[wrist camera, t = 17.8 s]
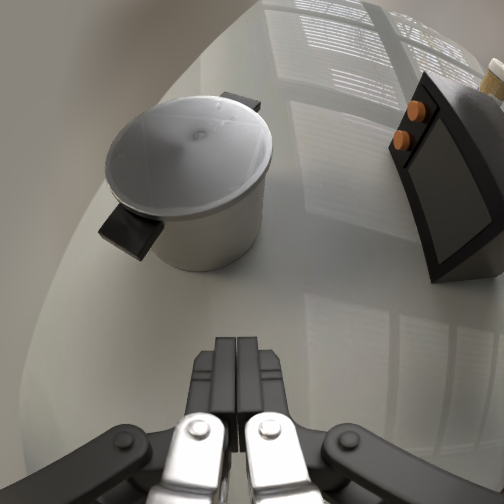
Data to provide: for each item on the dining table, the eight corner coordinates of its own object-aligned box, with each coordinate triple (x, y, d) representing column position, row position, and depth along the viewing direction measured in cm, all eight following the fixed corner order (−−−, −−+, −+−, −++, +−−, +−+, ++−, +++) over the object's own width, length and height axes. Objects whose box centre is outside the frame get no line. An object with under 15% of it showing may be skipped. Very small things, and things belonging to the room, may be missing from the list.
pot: (212, 321, 21) (191, 283, 13) (106, 257, 23) (56, 201, 15) (293, 180, 26) (309, 107, 18) (197, 143, 28) (186, 74, 20)
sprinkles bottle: (456, 114, 34) (489, 53, 22) (477, 127, 33) (512, 69, 21) (460, 130, 32) (498, 64, 20) (482, 143, 31) (522, 82, 19)
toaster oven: (421, 284, 22) (504, 221, 12) (379, 146, 29) (414, 67, 19) (496, 277, 22) (566, 227, 12) (451, 158, 29) (491, 96, 19)
